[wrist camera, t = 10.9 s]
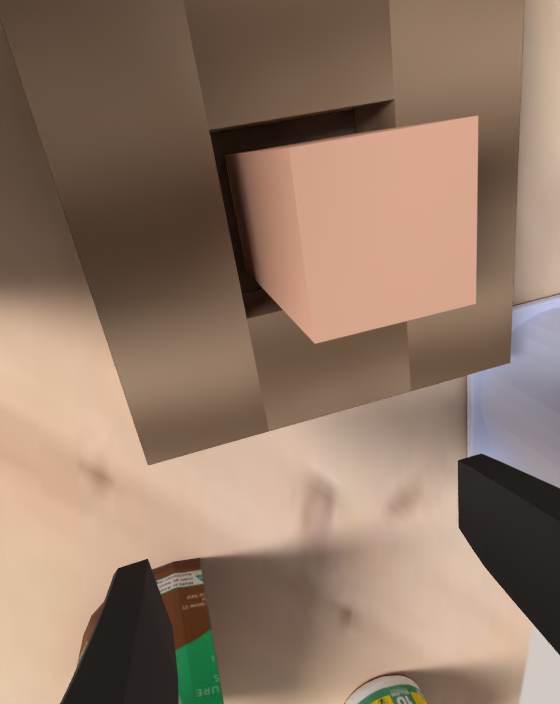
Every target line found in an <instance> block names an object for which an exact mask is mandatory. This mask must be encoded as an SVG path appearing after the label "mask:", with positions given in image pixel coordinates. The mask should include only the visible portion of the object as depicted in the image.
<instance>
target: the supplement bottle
mask: <svg viewBox="0 0 560 704" xmlns="http://www.w3.org/2000/svg"><path fill="white" fill-rule="evenodd" d="M345 704H428V703H427V702H426V700H425V698H424V696H423V694H422V692H421V690H420V688H419V687H418V686H417V684H416V683H415V682H414V681H412V680H411V679H409V678H407V677H404V676H399V675H394V676H384V677H379V678H376V679H374V680H372V681H370V682H368V683H366V684H364V685H363V686H361V687H360V688H358V689H357V690H356V691H355V692H354V693H353V694H352V695H351V696H350V697H349V698H348V699H347V701H346V702H345Z"/></svg>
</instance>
